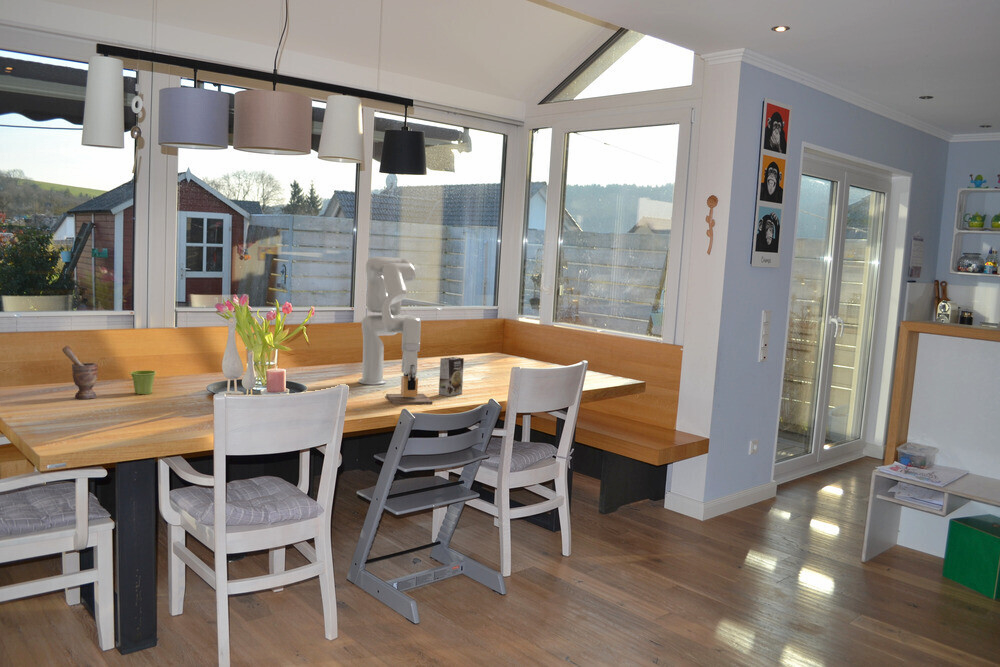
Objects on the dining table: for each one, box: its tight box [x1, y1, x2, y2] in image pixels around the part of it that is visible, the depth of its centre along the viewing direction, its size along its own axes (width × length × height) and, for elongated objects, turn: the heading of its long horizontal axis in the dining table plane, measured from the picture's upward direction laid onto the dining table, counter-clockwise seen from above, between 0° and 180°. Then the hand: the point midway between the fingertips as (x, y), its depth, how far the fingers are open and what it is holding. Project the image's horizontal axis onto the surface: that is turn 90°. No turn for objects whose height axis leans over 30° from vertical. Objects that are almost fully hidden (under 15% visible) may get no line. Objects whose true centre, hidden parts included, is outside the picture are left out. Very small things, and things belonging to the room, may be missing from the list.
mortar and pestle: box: [62, 345, 98, 400], centre depth 294 cm, size 12×9×20 cm
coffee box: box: [438, 356, 465, 397], centre depth 338 cm, size 9×6×16 cm
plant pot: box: [130, 370, 157, 395], centre depth 308 cm, size 9×9×9 cm
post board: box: [385, 393, 433, 406], centre depth 321 cm, size 18×16×9 cm
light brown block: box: [400, 375, 419, 397], centre depth 321 cm, size 6×6×8 cm
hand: (409, 387), depth 321 cm, fingers open, 9 cm apart
